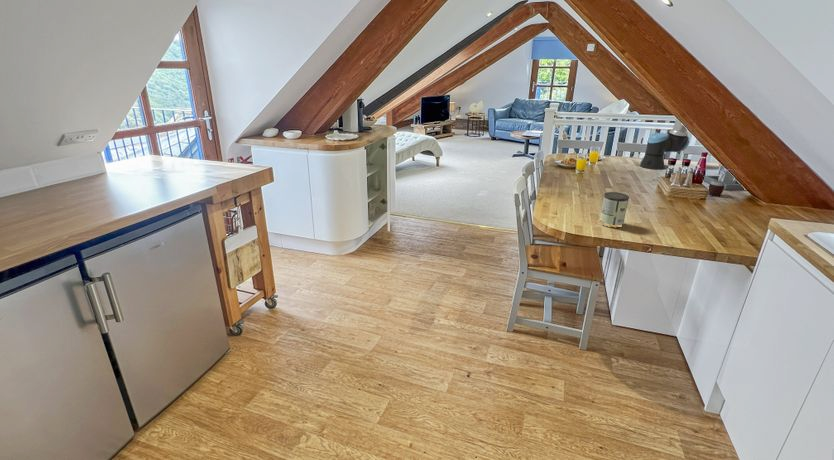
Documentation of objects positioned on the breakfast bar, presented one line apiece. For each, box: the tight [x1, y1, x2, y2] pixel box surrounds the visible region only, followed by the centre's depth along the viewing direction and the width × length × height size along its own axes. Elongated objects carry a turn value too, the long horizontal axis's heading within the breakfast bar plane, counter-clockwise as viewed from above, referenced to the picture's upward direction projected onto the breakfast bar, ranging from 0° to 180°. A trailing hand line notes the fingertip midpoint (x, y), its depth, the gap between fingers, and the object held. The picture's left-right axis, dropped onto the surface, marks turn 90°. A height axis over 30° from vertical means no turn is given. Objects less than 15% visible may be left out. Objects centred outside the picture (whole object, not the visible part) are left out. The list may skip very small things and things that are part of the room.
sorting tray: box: [704, 175, 745, 191], centre depth 250 cm, size 20×15×4 cm
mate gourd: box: [707, 172, 727, 198], centre depth 229 cm, size 8×8×15 cm
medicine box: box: [718, 169, 736, 184], centre depth 249 cm, size 8×4×9 cm, turn 89°
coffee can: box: [599, 191, 630, 225], centre depth 188 cm, size 10×10×14 cm
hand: (727, 177), depth 249 cm, fingers open, 13 cm apart
